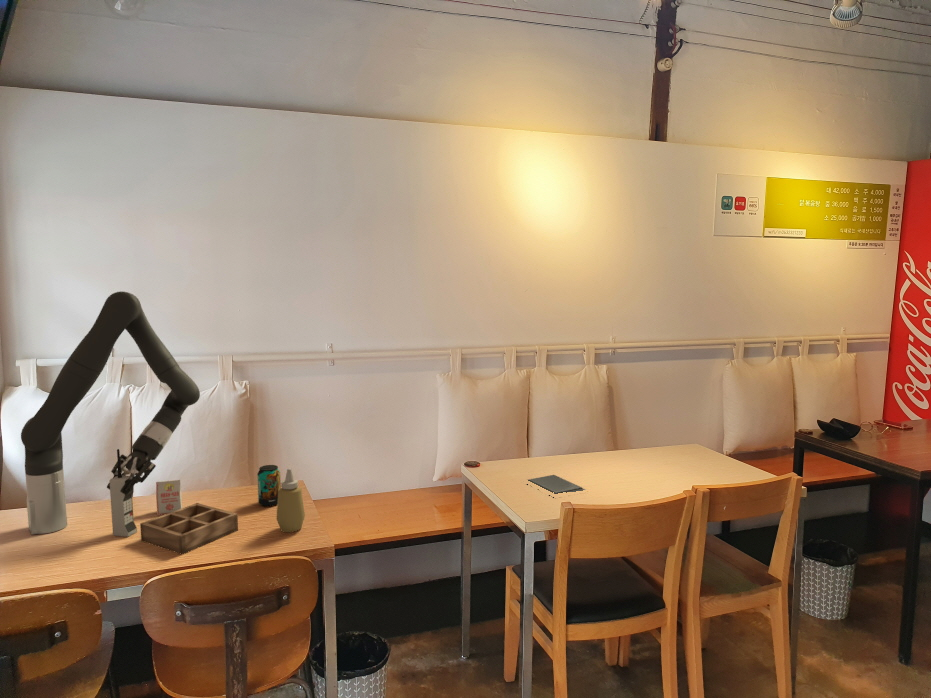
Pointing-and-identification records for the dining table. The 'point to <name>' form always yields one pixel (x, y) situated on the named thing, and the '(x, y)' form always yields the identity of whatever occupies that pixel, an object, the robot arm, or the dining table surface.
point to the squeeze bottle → (290, 504)
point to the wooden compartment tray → (189, 527)
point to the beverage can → (268, 485)
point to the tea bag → (168, 496)
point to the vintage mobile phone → (121, 505)
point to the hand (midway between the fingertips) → (116, 491)
